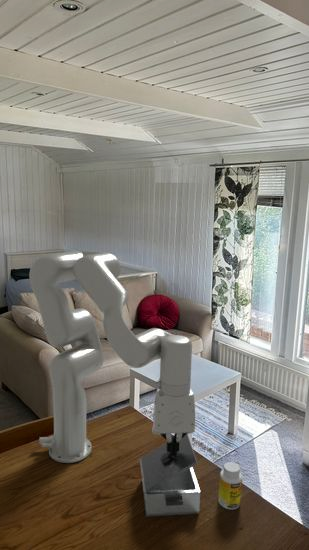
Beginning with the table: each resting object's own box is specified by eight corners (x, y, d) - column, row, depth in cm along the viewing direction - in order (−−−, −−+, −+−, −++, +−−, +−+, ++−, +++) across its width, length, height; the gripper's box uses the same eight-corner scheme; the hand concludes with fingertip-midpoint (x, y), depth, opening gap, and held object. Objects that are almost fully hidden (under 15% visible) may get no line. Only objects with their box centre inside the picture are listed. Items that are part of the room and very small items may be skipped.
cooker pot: (147, 521, 98) (147, 499, 97) (141, 476, 114) (142, 457, 113) (200, 518, 99) (201, 496, 98) (187, 474, 115) (188, 454, 114)
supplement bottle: (228, 514, 101) (231, 476, 99) (213, 500, 105) (215, 464, 104) (245, 505, 104) (247, 469, 102) (229, 492, 109) (232, 457, 107)
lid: (144, 494, 98) (141, 489, 98) (140, 460, 111) (137, 456, 110) (197, 463, 98) (194, 459, 98) (187, 433, 111) (184, 429, 111)
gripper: (145, 394, 96) (144, 464, 100) (208, 392, 98) (204, 461, 101) (143, 380, 104) (142, 446, 107) (201, 378, 105) (198, 443, 109)
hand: (172, 453), depth 104 cm, fingers closed
